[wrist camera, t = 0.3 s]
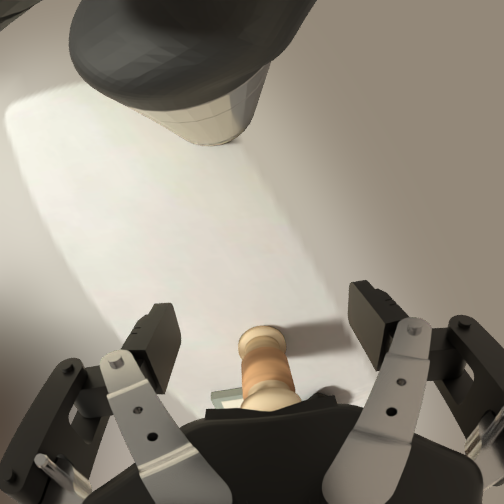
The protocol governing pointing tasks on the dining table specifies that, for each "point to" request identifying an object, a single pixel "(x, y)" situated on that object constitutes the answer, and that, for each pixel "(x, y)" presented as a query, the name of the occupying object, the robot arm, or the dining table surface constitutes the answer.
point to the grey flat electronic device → (227, 398)
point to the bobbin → (265, 370)
